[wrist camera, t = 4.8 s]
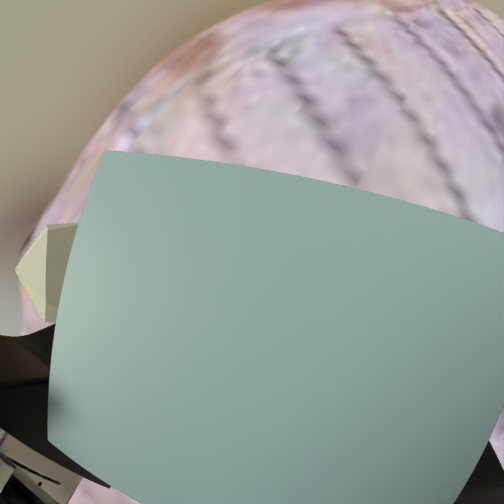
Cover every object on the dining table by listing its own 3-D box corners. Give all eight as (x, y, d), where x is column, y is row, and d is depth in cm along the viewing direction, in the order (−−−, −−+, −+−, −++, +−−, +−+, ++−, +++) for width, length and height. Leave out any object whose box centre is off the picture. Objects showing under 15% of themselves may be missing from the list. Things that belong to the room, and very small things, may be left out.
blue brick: (342, 368, 14) (406, 562, 2) (246, 342, 15) (47, 440, 3) (365, 290, 14) (536, 245, 2) (267, 266, 15) (104, 150, 3)
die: (119, 212, 26) (21, 202, 20) (145, 255, 20) (10, 246, 14) (106, 287, 29) (18, 284, 23) (128, 344, 23) (16, 346, 17)
